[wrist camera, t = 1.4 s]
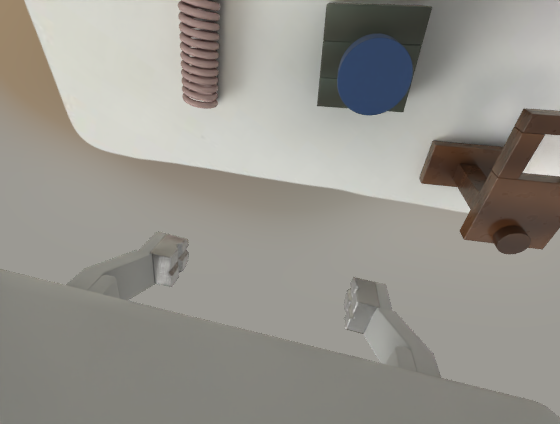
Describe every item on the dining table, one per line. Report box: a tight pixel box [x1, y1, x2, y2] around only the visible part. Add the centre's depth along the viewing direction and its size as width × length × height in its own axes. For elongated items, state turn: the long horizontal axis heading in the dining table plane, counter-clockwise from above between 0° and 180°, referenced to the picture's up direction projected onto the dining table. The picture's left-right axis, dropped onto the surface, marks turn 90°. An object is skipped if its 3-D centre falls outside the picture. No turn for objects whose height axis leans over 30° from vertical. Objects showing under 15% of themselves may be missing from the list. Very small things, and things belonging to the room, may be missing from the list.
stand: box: [419, 109, 560, 254], centre depth 32 cm, size 15×10×16 cm
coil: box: [178, 0, 220, 108], centre depth 34 cm, size 5×5×18 cm
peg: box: [337, 34, 413, 115], centre depth 30 cm, size 6×6×13 cm
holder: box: [317, 3, 432, 112], centre depth 33 cm, size 10×10×5 cm
